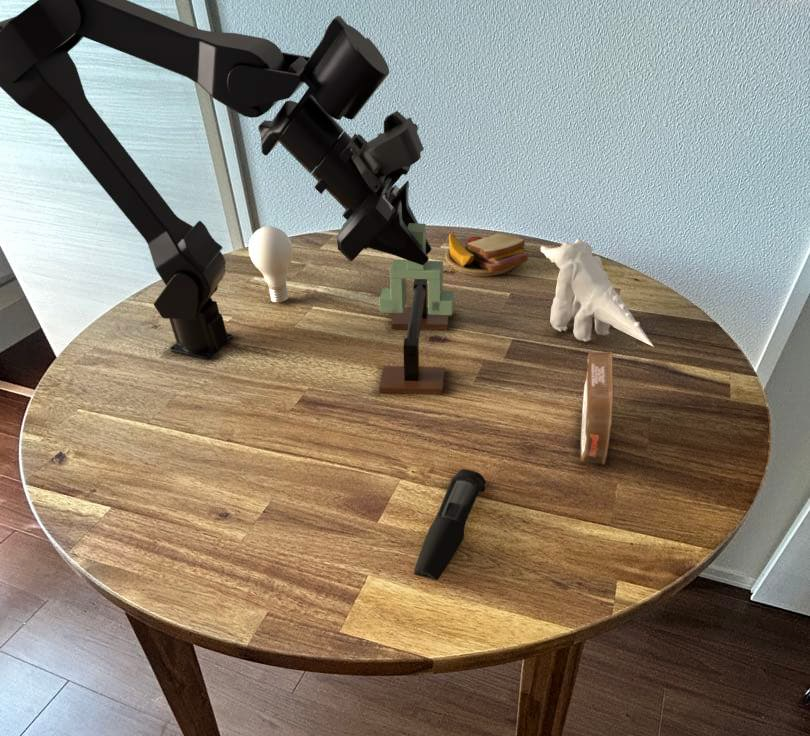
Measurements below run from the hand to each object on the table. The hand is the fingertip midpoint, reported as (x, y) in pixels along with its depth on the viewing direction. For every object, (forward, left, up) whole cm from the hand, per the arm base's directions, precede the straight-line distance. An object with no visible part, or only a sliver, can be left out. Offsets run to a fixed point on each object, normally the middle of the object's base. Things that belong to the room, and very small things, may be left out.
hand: (427, 257), depth 78 cm
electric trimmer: (+14, -30, -14) cm, 36 cm away
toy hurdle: (-2, +1, -13) cm, 14 cm away
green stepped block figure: (-1, 0, -7) cm, 7 cm away
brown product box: (+24, -10, -14) cm, 29 cm away
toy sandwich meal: (-1, +30, -14) cm, 33 cm away
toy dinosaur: (+19, +12, -14) cm, 26 cm away
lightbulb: (-27, +7, -14) cm, 31 cm away
